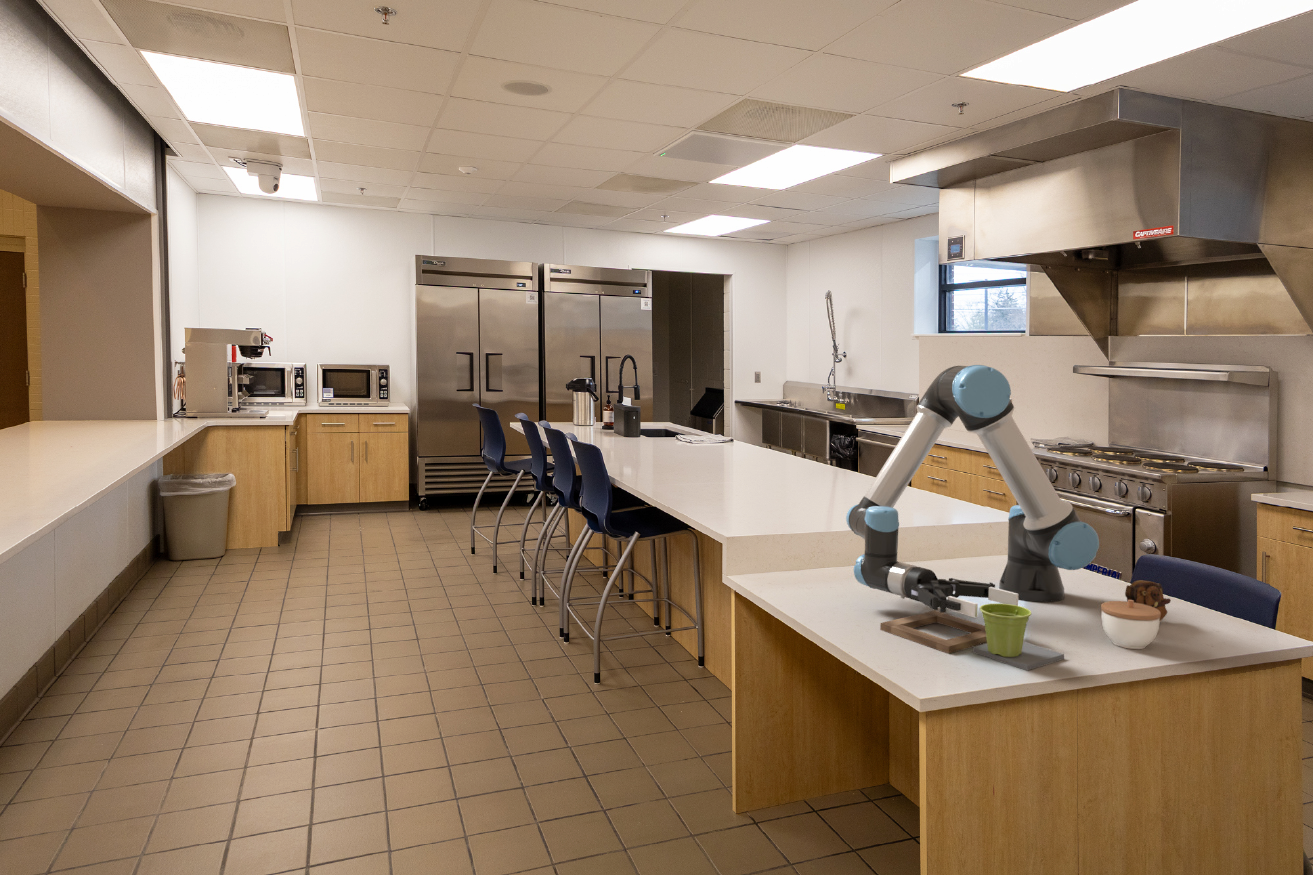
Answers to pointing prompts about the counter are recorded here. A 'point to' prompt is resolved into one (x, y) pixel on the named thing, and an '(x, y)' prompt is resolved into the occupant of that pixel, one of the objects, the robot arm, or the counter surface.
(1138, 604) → the lidded jar
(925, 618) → the walnut frame
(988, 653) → the charcoal mat
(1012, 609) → the plant pot
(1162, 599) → the wooden carving
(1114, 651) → the counter surface
